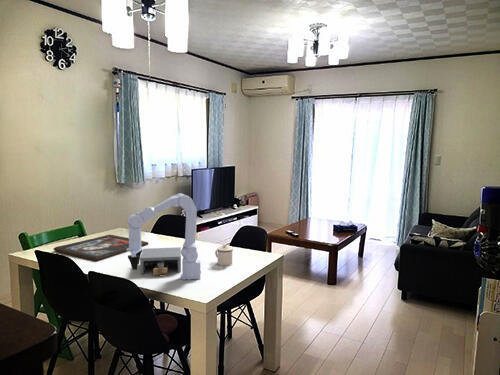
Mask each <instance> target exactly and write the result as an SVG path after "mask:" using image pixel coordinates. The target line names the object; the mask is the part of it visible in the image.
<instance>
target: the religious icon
mask: <svg viewBox="0 0 500 375" xmlns="http://www.w3.org/2000/svg"><path fill="white" fill-rule="evenodd" d="M148 245H149V242H148V241H144V240H141V248H142V247H143V248H144V247H145V246H146V247H147V246H148ZM127 248H129V237H126V236H119V235H115V234H107V235H102V236H97V237H93V238H89V239H85V240H81V241H77V242H72V243H67V244H64V245H59V246H55V247H53V251H54V252H58V253H61V254H65V255H70V256H71V257H72V258H75V257H77V258H81V259H85V260H89V261H94V262H99V261H104V260H106V259H109V258H113V257H115V256H118V255H121V254H124V253H126V252H127V253H128V252H129V251H127V250H126V249H127ZM73 256H74V257H73Z"/></svg>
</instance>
